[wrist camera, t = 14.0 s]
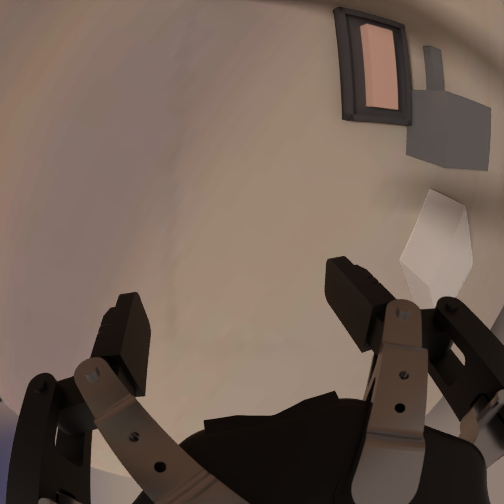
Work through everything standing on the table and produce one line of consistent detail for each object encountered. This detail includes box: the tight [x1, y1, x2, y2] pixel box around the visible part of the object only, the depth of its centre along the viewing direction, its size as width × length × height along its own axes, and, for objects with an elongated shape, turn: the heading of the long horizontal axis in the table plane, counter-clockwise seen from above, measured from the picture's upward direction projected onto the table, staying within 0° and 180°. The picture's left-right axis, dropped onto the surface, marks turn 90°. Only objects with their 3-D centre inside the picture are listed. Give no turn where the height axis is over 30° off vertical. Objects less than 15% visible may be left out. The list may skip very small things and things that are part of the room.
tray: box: [333, 7, 412, 126], centre depth 33 cm, size 19×13×2 cm
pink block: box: [360, 24, 398, 110], centre depth 32 cm, size 14×5×2 cm, turn 4°
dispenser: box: [406, 46, 491, 171], centre depth 33 cm, size 22×14×10 cm, turn 4°
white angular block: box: [399, 189, 473, 309], centre depth 48 cm, size 14×29×10 cm, turn 10°
